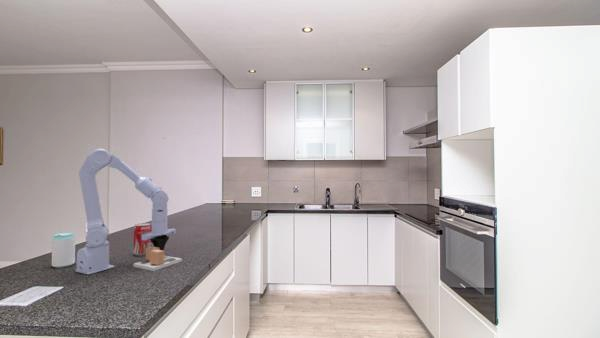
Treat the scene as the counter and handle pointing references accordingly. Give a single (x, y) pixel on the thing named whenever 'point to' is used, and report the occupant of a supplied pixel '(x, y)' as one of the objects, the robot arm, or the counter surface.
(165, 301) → the counter surface
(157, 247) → the tab far
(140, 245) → the soda can
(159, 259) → the tab near
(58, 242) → the white lidded container
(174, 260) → the switch bank
